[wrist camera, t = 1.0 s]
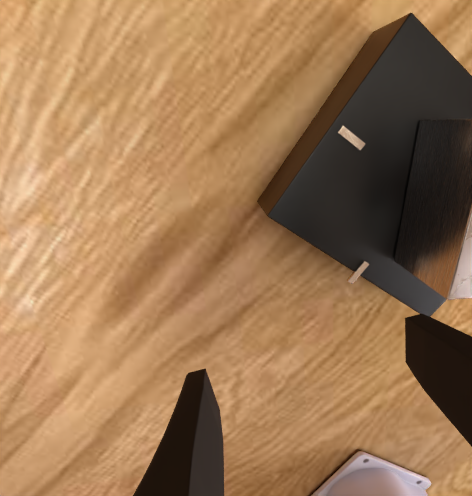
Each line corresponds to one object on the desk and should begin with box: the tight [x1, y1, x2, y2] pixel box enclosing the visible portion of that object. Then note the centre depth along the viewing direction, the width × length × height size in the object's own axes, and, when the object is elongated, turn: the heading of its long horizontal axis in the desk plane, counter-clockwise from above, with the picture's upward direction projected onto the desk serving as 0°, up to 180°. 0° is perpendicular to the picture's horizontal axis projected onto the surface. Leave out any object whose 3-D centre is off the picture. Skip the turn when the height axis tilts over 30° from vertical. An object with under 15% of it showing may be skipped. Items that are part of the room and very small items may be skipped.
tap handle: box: [394, 119, 472, 300], centre depth 14 cm, size 7×2×4 cm, turn 1°
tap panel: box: [258, 13, 472, 317], centre depth 17 cm, size 12×11×3 cm
